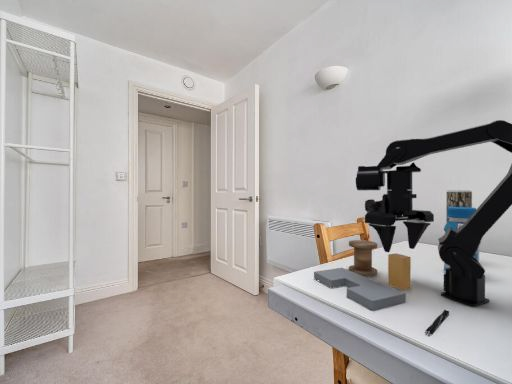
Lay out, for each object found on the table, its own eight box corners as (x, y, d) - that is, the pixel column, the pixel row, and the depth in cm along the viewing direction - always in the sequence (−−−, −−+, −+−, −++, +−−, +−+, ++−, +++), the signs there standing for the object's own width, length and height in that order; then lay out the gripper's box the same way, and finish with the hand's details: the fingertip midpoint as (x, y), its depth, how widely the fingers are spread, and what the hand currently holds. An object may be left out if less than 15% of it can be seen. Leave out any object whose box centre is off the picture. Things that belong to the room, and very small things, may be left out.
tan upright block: (410, 288, 63) (410, 257, 63) (402, 290, 61) (402, 258, 61) (396, 282, 66) (396, 253, 66) (388, 284, 65) (388, 254, 65)
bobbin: (383, 274, 73) (383, 244, 73) (363, 278, 70) (363, 246, 70) (362, 266, 80) (362, 239, 80) (343, 269, 77) (343, 241, 77)
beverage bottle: (436, 272, 75) (436, 206, 75) (454, 269, 78) (454, 206, 78) (468, 281, 67) (469, 208, 67) (487, 277, 70) (487, 207, 70)
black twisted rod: (430, 338, 42) (430, 332, 42) (423, 336, 42) (423, 330, 42) (449, 315, 49) (449, 310, 49) (443, 313, 50) (443, 308, 50)
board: (405, 302, 55) (405, 293, 55) (372, 310, 51) (372, 301, 51) (341, 274, 73) (341, 267, 73) (314, 278, 69) (314, 271, 69)
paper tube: (461, 260, 88) (462, 190, 88) (477, 265, 82) (477, 190, 82) (441, 259, 89) (442, 190, 89) (455, 265, 82) (455, 190, 82)
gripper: (396, 190, 75) (396, 241, 75) (348, 190, 68) (349, 247, 68) (434, 190, 65) (435, 249, 65) (383, 190, 57) (384, 257, 57)
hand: (399, 250), depth 64 cm, fingers open, 9 cm apart
